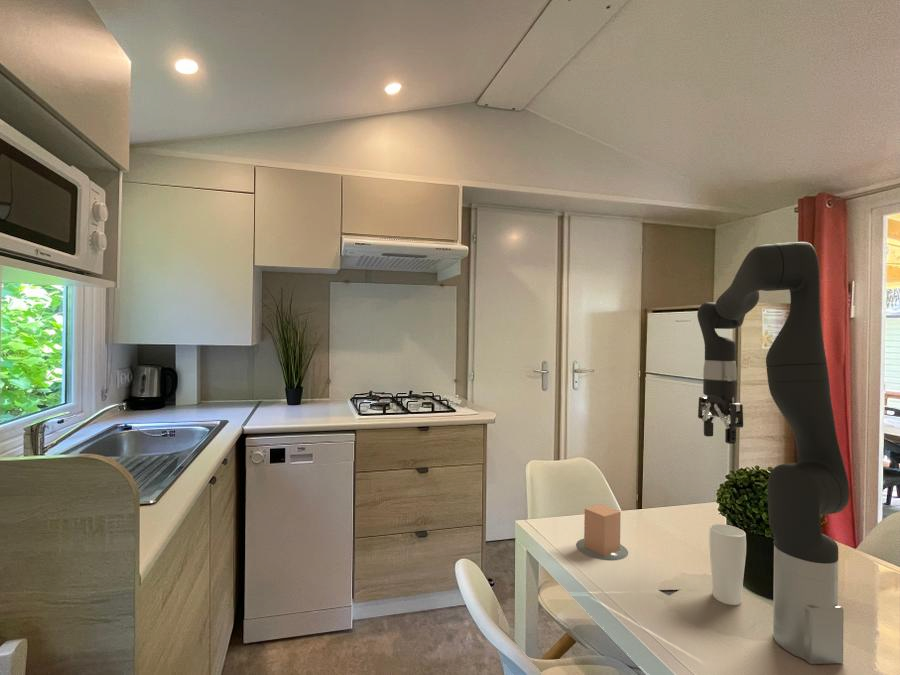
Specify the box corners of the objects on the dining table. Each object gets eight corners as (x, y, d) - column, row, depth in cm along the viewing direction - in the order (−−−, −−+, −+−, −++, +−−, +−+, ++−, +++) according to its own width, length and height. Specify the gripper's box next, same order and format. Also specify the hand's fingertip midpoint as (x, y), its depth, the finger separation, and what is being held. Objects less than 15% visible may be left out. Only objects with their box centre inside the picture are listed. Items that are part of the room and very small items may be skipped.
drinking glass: (751, 611, 92) (752, 538, 92) (715, 606, 94) (716, 534, 94) (737, 593, 99) (738, 525, 99) (703, 589, 100) (704, 522, 100)
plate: (637, 563, 112) (637, 559, 112) (586, 563, 111) (586, 560, 111) (614, 540, 125) (614, 537, 125) (569, 540, 124) (569, 537, 124)
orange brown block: (620, 550, 117) (620, 511, 117) (604, 556, 114) (604, 516, 114) (599, 540, 122) (600, 504, 123) (584, 546, 119) (584, 508, 119)
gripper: (689, 375, 124) (689, 434, 124) (724, 380, 110) (724, 446, 110) (715, 376, 125) (714, 434, 125) (753, 380, 111) (752, 446, 111)
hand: (719, 439), depth 117 cm, fingers open, 8 cm apart
